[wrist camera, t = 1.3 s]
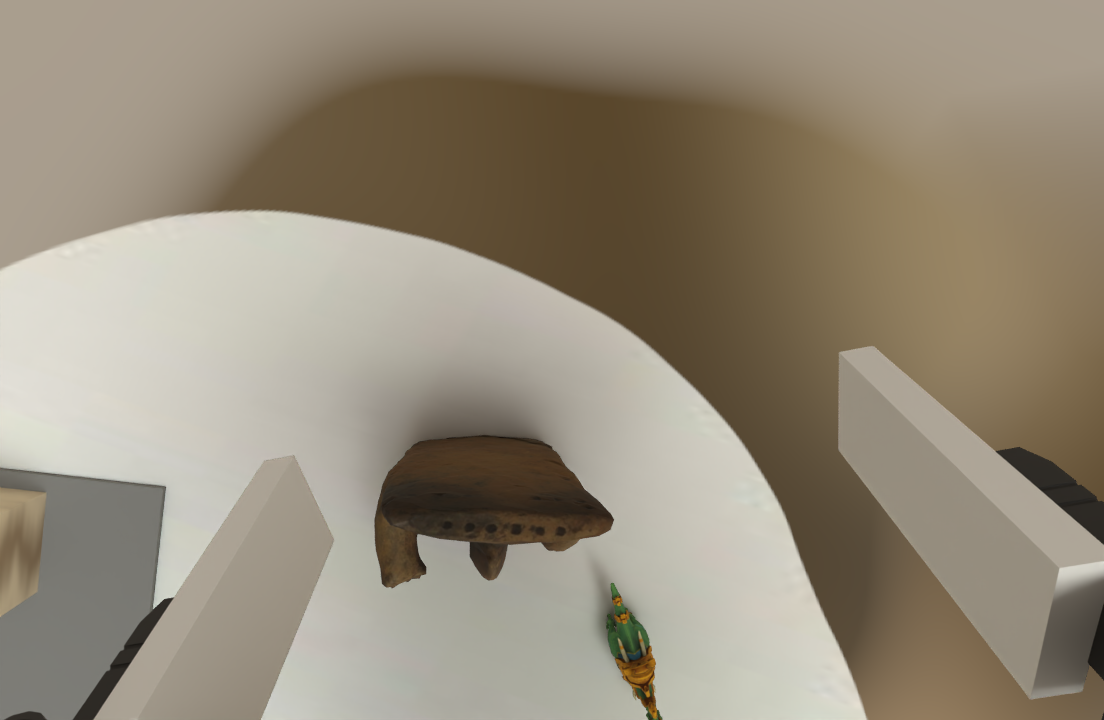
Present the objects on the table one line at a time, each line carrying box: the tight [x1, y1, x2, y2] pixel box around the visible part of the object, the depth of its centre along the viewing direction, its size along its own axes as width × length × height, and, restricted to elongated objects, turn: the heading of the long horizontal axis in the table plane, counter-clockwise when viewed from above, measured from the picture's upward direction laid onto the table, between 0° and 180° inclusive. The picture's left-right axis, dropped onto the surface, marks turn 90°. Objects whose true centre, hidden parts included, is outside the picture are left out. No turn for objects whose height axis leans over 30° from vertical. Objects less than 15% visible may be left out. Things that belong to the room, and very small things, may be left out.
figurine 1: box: [375, 435, 614, 588], centre depth 38 cm, size 13×8×20 cm, turn 91°
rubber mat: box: [0, 468, 166, 720], centre depth 45 cm, size 24×20×1 cm
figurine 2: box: [606, 583, 662, 720], centre depth 47 cm, size 3×12×8 cm, turn 17°
